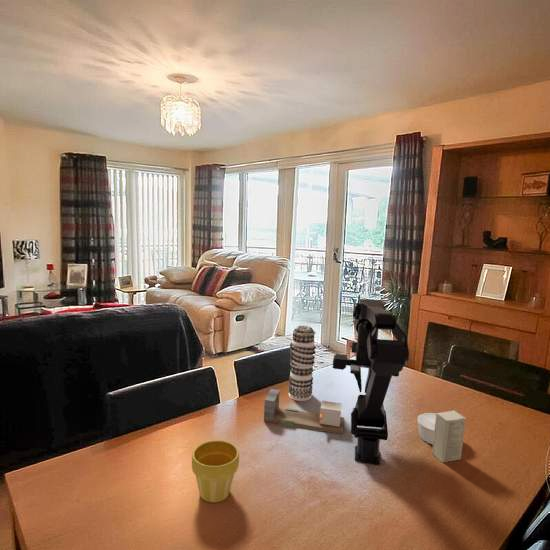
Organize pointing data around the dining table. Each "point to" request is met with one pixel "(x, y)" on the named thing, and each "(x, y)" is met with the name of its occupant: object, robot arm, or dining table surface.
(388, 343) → the robot arm
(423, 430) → the ramekin
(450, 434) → the skincare box
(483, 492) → the dining table surface
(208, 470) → the plant pot
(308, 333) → the decorative candle
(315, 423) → the gauge board
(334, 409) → the block
